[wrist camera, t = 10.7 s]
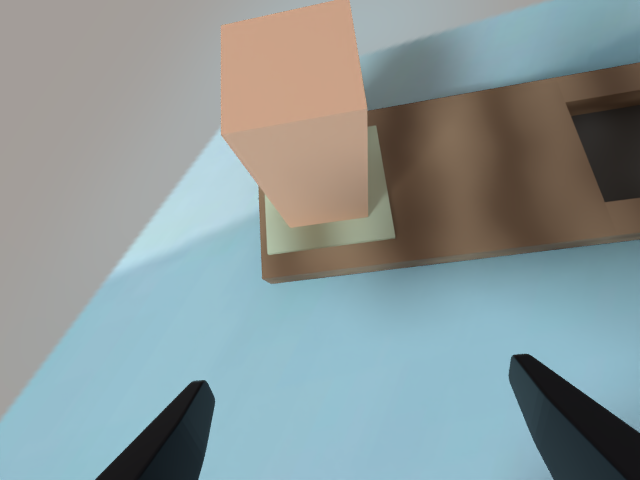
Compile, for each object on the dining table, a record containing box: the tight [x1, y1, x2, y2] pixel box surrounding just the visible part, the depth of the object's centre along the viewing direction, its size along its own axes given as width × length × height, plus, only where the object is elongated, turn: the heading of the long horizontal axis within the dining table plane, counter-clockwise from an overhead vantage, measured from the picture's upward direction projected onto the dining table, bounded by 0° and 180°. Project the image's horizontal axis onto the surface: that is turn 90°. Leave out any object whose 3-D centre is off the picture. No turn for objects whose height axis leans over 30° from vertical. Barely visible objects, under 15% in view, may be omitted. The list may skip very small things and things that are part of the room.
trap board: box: [258, 63, 640, 284], centre depth 21 cm, size 30×11×2 cm, turn 96°
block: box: [221, 0, 368, 228], centre depth 16 cm, size 5×5×10 cm
